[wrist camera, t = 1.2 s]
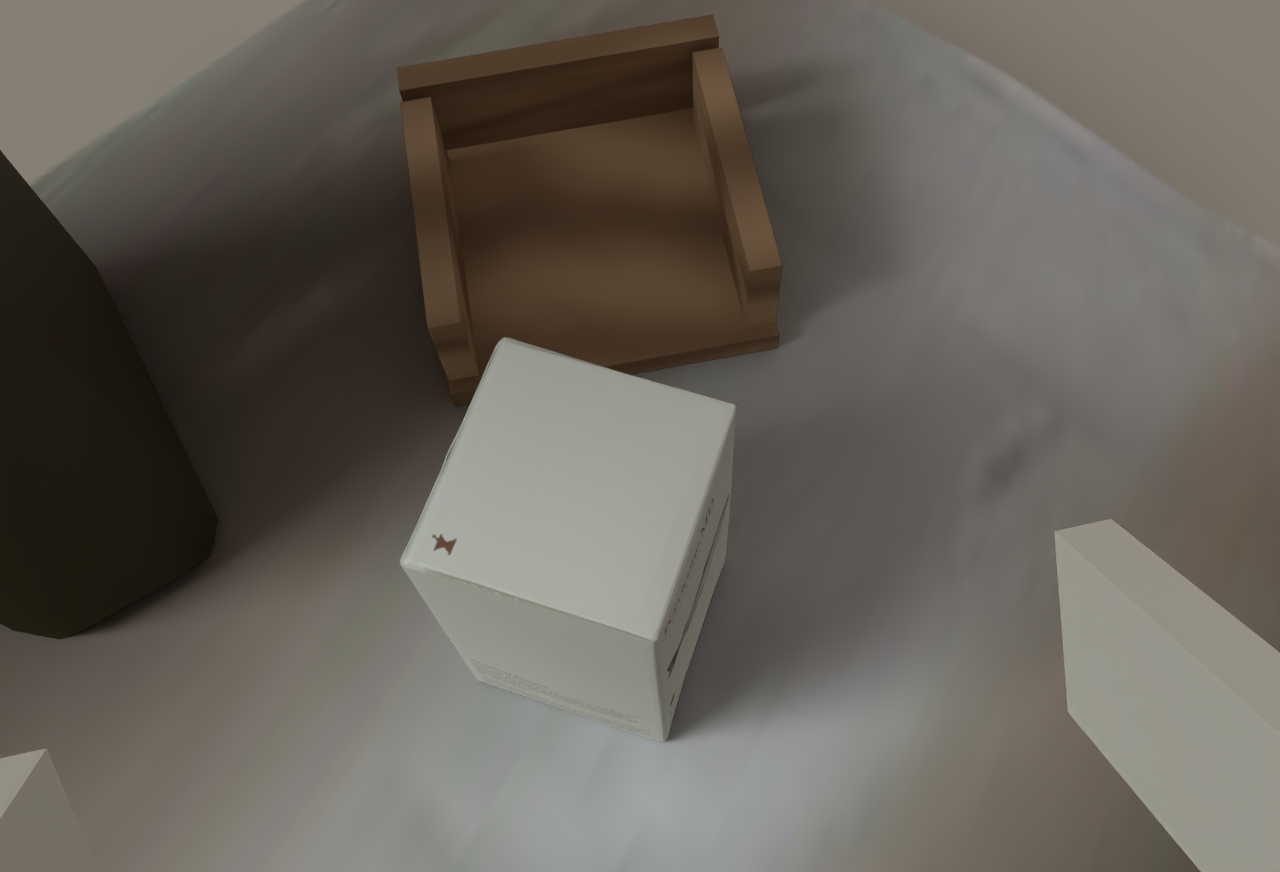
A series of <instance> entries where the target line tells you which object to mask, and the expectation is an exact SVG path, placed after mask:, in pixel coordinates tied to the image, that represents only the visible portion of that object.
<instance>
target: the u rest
mask: <svg viewBox="0 0 1280 872" xmlns="http://www.w3.org/2000/svg"><path fill="white" fill-rule="evenodd" d="M397 75H398V83H399V91H400V94H401V97H402V100H403V102H401V109H402V117H403V126H404V134H405V143H406V151H407V160H408V168H409V177H410V185H411V194H412V202H413V211H414V219H415V228H416V236H417V244H418V253H419V261H420V270H421V278H422V287H423V295H424V304H425V312H426V321H427V329H428V331H429V334H430V336H431V339H432V341H433V343H434V346H435V348H436V351H437V353H438V356H439V358H440V361H441V363H442V366H443V368H444V371H445V373H446V376H447V378H448V381H449V388H450V395H451V397H452V400H453V402H454V404H455V406H457V405H463V404H468V403H471V401H472V399H473V397H474V395H475V392H476V390H477V388H478V386H479V383H480V381H481V379H482V377H483V374H484V372H485V369H486V367H487V365H488V363H489V360H490V358H491V356H492V354H493V352H494V349H495V347H496V345H497V343H498V342H499V341H500V340H501V339H502V338H505V337H507V338H512V339H515V340H518V341H521V342H524V343H527V344H531V345H534V346H537V347H540V348H544V349H547V350H551V351H554V352H557V353H560V354H564V355H567V356H570V357H573V358H576V359H580V360H583V361H586V362H589V363H593V364H596V365H599V366H602V367H606V368H609V369H612V370H615V371H618V372H622V373H625V374H629V375H630V374H635V373H641V372H646V371H652V370H657V369H663V368H669V367H674V366H680V365H685V364H691V363H696V362H702V361H707V360H713V359H719V358H724V357H730V356H735V355H741V354H746V353H752V352H757V351H763V350H769V349H774V348H778V342H779V332H778V329H777V325H776V316H777V307H778V298H779V289H780V280H781V272H782V263H781V259H780V256H779V252H778V248H777V245H776V241H775V238H774V234H773V230H772V227H771V223H770V220H769V216H768V212H767V209H766V205H765V201H764V198H763V194H762V191H761V187H760V183H759V180H758V176H757V173H756V169H755V165H754V162H753V158H752V154H751V151H750V147H749V144H748V140H747V136H746V133H745V129H744V125H743V122H742V118H741V115H740V111H739V107H738V104H737V100H736V97H735V93H734V89H733V86H732V82H731V78H730V75H729V71H728V68H727V64H726V60H725V57H724V53H723V50H722V48H719V35H718V31H717V28H716V24H715V21H714V17H713V15H707V16H701V17H695V18H689V19H683V20H677V21H672V22H666V23H660V24H654V25H648V26H642V27H636V28H630V29H624V30H618V31H612V32H607V33H601V34H595V35H589V36H583V37H577V38H571V39H565V40H559V41H553V42H547V43H542V44H536V45H530V46H524V47H518V48H512V49H506V50H500V51H494V52H488V53H483V54H477V55H471V56H465V57H459V58H453V59H447V60H441V61H435V62H429V63H423V64H418V65H412V66H406V67H400V68H397Z"/></svg>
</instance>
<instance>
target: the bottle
mask: <svg viewBox="0 0 1280 872" xmlns="http://www.w3.org/2000/svg"><path fill="white" fill-rule="evenodd" d="M217 523H218V518H217V516H216V514H215V512H214V510H213V507H212V505H211V503H210V501H209V499H208V497H207V495H206V493H205V491H204V489H203V487H202V485H201V483H200V481H199V479H198V477H197V474H196V472H195V470H194V468H193V466H192V464H191V462H190V460H189V458H188V456H187V454H186V452H185V450H184V448H183V446H182V444H181V441H180V439H179V437H178V435H177V433H176V431H175V429H174V427H173V425H172V423H171V421H170V419H169V417H168V415H167V413H166V411H165V409H164V406H163V404H162V402H161V400H160V398H159V396H158V394H157V392H156V390H155V388H154V386H153V384H152V382H151V380H150V378H149V376H148V373H147V371H146V369H145V367H144V365H143V363H142V361H141V359H140V357H139V355H138V353H137V351H136V349H135V347H134V345H133V343H132V341H131V338H130V336H129V334H128V332H127V330H126V328H125V326H124V324H123V322H122V320H121V318H120V316H119V314H118V312H117V310H116V308H115V305H114V303H113V301H112V299H111V297H110V295H109V293H108V291H107V289H106V287H105V285H104V283H103V281H102V279H101V277H100V275H99V272H98V270H97V268H96V266H95V265H94V264H93V263H92V261H91V260H90V259H89V258H88V256H87V255H86V254H85V253H84V252H83V250H82V249H81V248H80V247H79V246H78V244H77V243H76V242H75V241H74V239H73V238H72V237H71V236H70V235H69V233H68V232H67V231H66V230H65V229H64V227H63V226H62V225H61V224H60V222H59V221H58V220H57V219H56V218H55V216H54V215H53V214H52V213H51V211H50V210H49V209H48V208H47V207H46V205H45V204H44V203H43V202H42V201H41V199H40V198H39V197H38V196H37V194H36V193H35V192H34V191H33V190H32V188H31V187H30V186H29V185H28V184H27V182H26V181H25V180H24V179H23V177H22V176H21V175H20V174H19V173H18V171H17V170H16V169H15V168H14V167H13V165H12V164H11V163H10V162H9V160H7V158H6V157H5V156H4V155H3V153H2V152H1V151H0V624H2V625H4V626H6V627H8V628H10V629H11V630H13V631H18V632H24V633H29V634H34V635H40V636H45V637H50V638H55V639H61V638H64V637H67V636H70V635H72V634H75V633H78V632H80V631H82V630H83V629H85V628H87V627H89V626H91V625H93V624H94V623H96V622H98V621H100V620H102V619H104V618H105V617H107V616H109V615H111V614H113V613H114V612H116V611H118V610H120V609H122V608H124V607H125V606H127V605H129V604H131V603H133V602H134V601H136V600H138V599H140V598H142V597H144V596H145V595H147V594H149V593H151V592H153V591H154V590H156V589H158V588H160V587H162V586H164V585H165V584H167V583H169V582H171V581H173V580H174V579H176V578H178V577H180V576H182V575H183V574H185V573H186V572H188V571H189V570H191V569H192V568H194V567H195V566H197V565H198V564H200V563H201V562H202V561H204V560H205V559H207V558H208V557H210V555H211V551H212V546H213V541H214V537H215V532H216V527H217Z"/></svg>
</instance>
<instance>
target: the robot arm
mask: <svg viewBox="0 0 1280 872" xmlns="http://www.w3.org/2000/svg"><path fill="white" fill-rule="evenodd" d="M1054 534H1055V547H1056V561H1057V574H1058V587H1059V600H1060V613H1061V626H1062V640H1063V653H1064V666H1065V679H1066V692H1067V705H1068V713H1069V714H1070V715H1071V716H1072V717H1073V719H1074V720H1075V721H1076V722H1077V723H1078V725H1079V726H1080V727H1081V728H1082V729H1083V731H1084V732H1085V733H1086V734H1087V735H1088V737H1089V738H1090V739H1091V740H1092V741H1093V743H1094V744H1095V745H1096V746H1097V747H1098V749H1099V750H1100V751H1101V752H1102V754H1103V755H1104V756H1105V757H1106V758H1107V760H1108V761H1109V762H1110V763H1111V764H1112V766H1113V767H1114V768H1115V769H1116V770H1117V772H1118V773H1119V774H1120V775H1121V776H1122V778H1123V779H1124V780H1125V781H1126V782H1127V784H1128V785H1129V786H1130V787H1131V788H1132V790H1133V791H1134V792H1135V793H1136V794H1137V796H1138V797H1139V798H1140V799H1141V800H1142V802H1143V803H1144V804H1145V805H1146V806H1147V808H1148V809H1149V810H1150V811H1151V812H1152V814H1153V815H1154V816H1155V817H1156V818H1157V820H1158V821H1159V822H1160V823H1161V824H1162V826H1163V827H1164V828H1165V829H1166V830H1167V832H1168V833H1169V834H1170V835H1171V836H1172V838H1173V839H1174V840H1175V841H1176V842H1177V844H1178V845H1179V846H1180V847H1181V848H1182V850H1183V851H1184V852H1185V853H1186V854H1187V856H1188V857H1189V858H1190V859H1191V860H1192V862H1193V863H1194V864H1195V865H1196V866H1197V868H1198V869H1199V870H1200V871H1201V872H1280V652H1278V651H1277V650H1276V649H1274V648H1273V647H1272V646H1271V645H1269V644H1268V643H1267V642H1266V641H1264V640H1263V639H1262V638H1261V637H1259V636H1258V635H1257V634H1256V633H1254V632H1253V631H1252V630H1251V629H1249V628H1248V627H1247V626H1245V625H1244V624H1243V623H1242V622H1240V621H1239V620H1238V619H1237V618H1235V617H1234V616H1233V615H1232V614H1230V613H1229V612H1228V611H1227V610H1225V609H1224V608H1223V607H1222V606H1220V605H1219V604H1218V603H1216V602H1215V601H1214V600H1213V599H1211V598H1210V597H1209V596H1208V595H1206V594H1205V593H1204V592H1203V591H1201V590H1200V589H1199V588H1198V587H1196V586H1195V585H1194V584H1193V583H1191V582H1190V581H1189V580H1187V579H1186V578H1185V577H1184V576H1182V575H1181V574H1180V573H1179V572H1177V571H1176V570H1175V569H1174V568H1172V567H1171V566H1170V565H1169V564H1167V563H1166V562H1165V561H1164V560H1162V559H1161V558H1160V557H1159V556H1157V555H1156V554H1155V553H1153V552H1152V551H1151V550H1150V549H1148V548H1147V547H1146V546H1145V545H1143V544H1142V543H1141V542H1140V541H1138V540H1137V539H1136V538H1135V537H1133V536H1132V535H1131V534H1130V533H1128V532H1127V531H1126V530H1124V529H1123V528H1122V527H1121V526H1119V525H1118V524H1117V523H1116V522H1114V521H1113V520H1112V519H1108V520H1103V521H1099V522H1094V523H1090V524H1085V525H1080V526H1076V527H1071V528H1066V529H1062V530H1057V531H1054ZM0 872H97V870H96V868H95V865H94V863H93V860H92V858H91V855H90V853H89V850H88V848H87V846H86V843H85V841H84V838H83V836H82V833H81V831H80V828H79V826H78V824H77V821H76V819H75V816H74V814H73V811H72V809H71V806H70V804H69V802H68V799H67V797H66V794H65V792H64V789H63V787H62V784H61V782H60V779H59V777H58V775H57V772H56V770H55V767H54V765H53V762H52V760H51V757H50V755H49V753H48V750H47V748H46V749H41V750H36V751H32V752H27V753H23V754H18V755H13V756H9V757H4V758H0Z"/></svg>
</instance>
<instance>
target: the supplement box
mask: <svg viewBox="0 0 1280 872" xmlns="http://www.w3.org/2000/svg"><path fill="white" fill-rule="evenodd" d="M736 412H737V407H736V405H735V404H733V403H729V402H725V401H721V400H718V399H714V398H711V397H707V396H704V395H700V394H697V393H693V392H689V391H686V390H682V389H679V388H675V387H672V386H668V385H664V384H661V383H657V382H654V381H650V380H647V379H643V378H639V377H636V376H632V375H629V374H625V373H622V372H618V371H615V370H612V369H609V368H606V367H602V366H599V365H596V364H593V363H589V362H586V361H583V360H580V359H576V358H573V357H570V356H567V355H564V354H560V353H557V352H554V351H551V350H547V349H544V348H540V347H537V346H534V345H531V344H527V343H524V342H521V341H518V340H515V339H512V338H507V337H505V338H502V339H501V340H500V341H499V342H498V343H497V345H496V347H495V349H494V352H493V354H492V356H491V358H490V360H489V363H488V365H487V367H486V369H485V372H484V374H483V377H482V379H481V381H480V383H479V386H478V388H477V390H476V392H475V395H474V397H473V399H472V401H471V404H470V406H469V408H468V410H467V413H466V415H465V417H464V419H463V422H462V424H461V426H460V428H459V431H458V433H457V435H456V437H455V439H454V441H453V443H452V445H451V447H450V449H449V451H448V453H447V455H446V457H445V461H444V464H443V466H442V469H441V471H440V474H439V476H438V478H437V480H436V482H435V485H434V487H433V489H432V491H431V494H430V496H429V498H428V500H427V503H426V505H425V507H424V509H423V512H422V514H421V516H420V518H419V521H418V523H417V525H416V527H415V530H414V532H413V534H412V536H411V538H410V541H409V543H408V545H407V547H406V549H405V551H404V553H403V555H402V557H401V560H400V564H401V566H402V568H403V570H404V571H405V572H406V574H407V575H408V577H409V578H410V580H411V581H412V583H413V584H414V586H415V587H416V589H417V591H418V592H419V594H420V595H421V596H422V598H423V599H424V601H425V602H426V604H427V605H428V607H429V608H430V610H431V611H432V613H433V614H434V616H435V618H436V619H437V621H438V622H439V624H440V625H441V627H442V628H443V630H444V631H445V633H446V634H447V636H448V637H449V639H450V640H451V642H452V643H453V645H454V646H455V648H456V649H457V651H458V652H459V654H460V655H461V657H462V658H463V660H464V662H465V663H466V665H467V666H468V668H469V669H470V671H471V672H472V674H473V675H474V677H475V678H476V680H478V681H481V682H484V683H487V684H490V685H493V686H496V687H499V688H502V689H504V690H507V691H510V692H513V693H516V694H519V695H522V696H525V697H528V698H531V699H535V700H537V701H540V702H543V703H545V704H548V705H551V706H555V707H558V708H561V709H564V710H566V711H569V712H572V713H575V714H578V715H581V716H584V717H587V718H589V719H592V720H595V721H598V722H601V723H604V724H607V725H610V726H613V727H616V728H618V729H621V730H624V731H627V732H630V733H633V734H636V735H639V736H642V737H645V738H648V739H651V740H654V741H657V742H665V741H667V738H668V735H669V731H670V727H671V723H672V720H673V716H674V713H675V709H676V705H677V702H678V699H679V695H680V692H681V689H682V686H683V682H684V679H685V676H686V673H687V670H688V667H689V664H690V661H691V658H692V655H693V652H694V649H695V646H696V643H697V640H698V637H699V634H700V631H701V628H702V625H703V622H704V619H705V616H706V613H707V610H708V607H709V604H710V601H711V598H712V595H713V592H714V590H715V587H716V584H717V582H718V579H719V576H720V573H721V571H722V568H723V566H724V563H725V560H726V549H727V539H728V528H729V516H730V503H731V490H732V474H733V451H734V439H735V424H736Z"/></svg>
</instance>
